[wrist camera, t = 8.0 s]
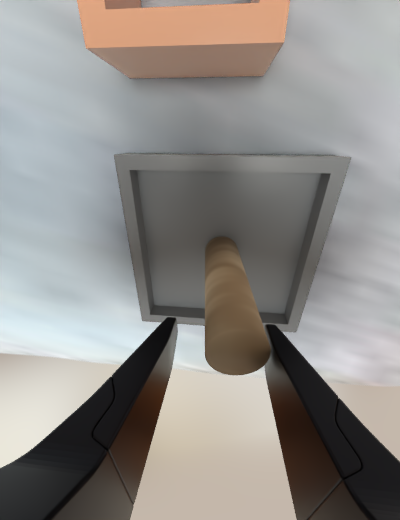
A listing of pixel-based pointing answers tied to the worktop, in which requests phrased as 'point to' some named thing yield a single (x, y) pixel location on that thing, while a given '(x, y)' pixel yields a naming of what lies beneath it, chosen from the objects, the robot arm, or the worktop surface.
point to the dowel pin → (231, 313)
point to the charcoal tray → (227, 226)
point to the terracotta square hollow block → (185, 37)
